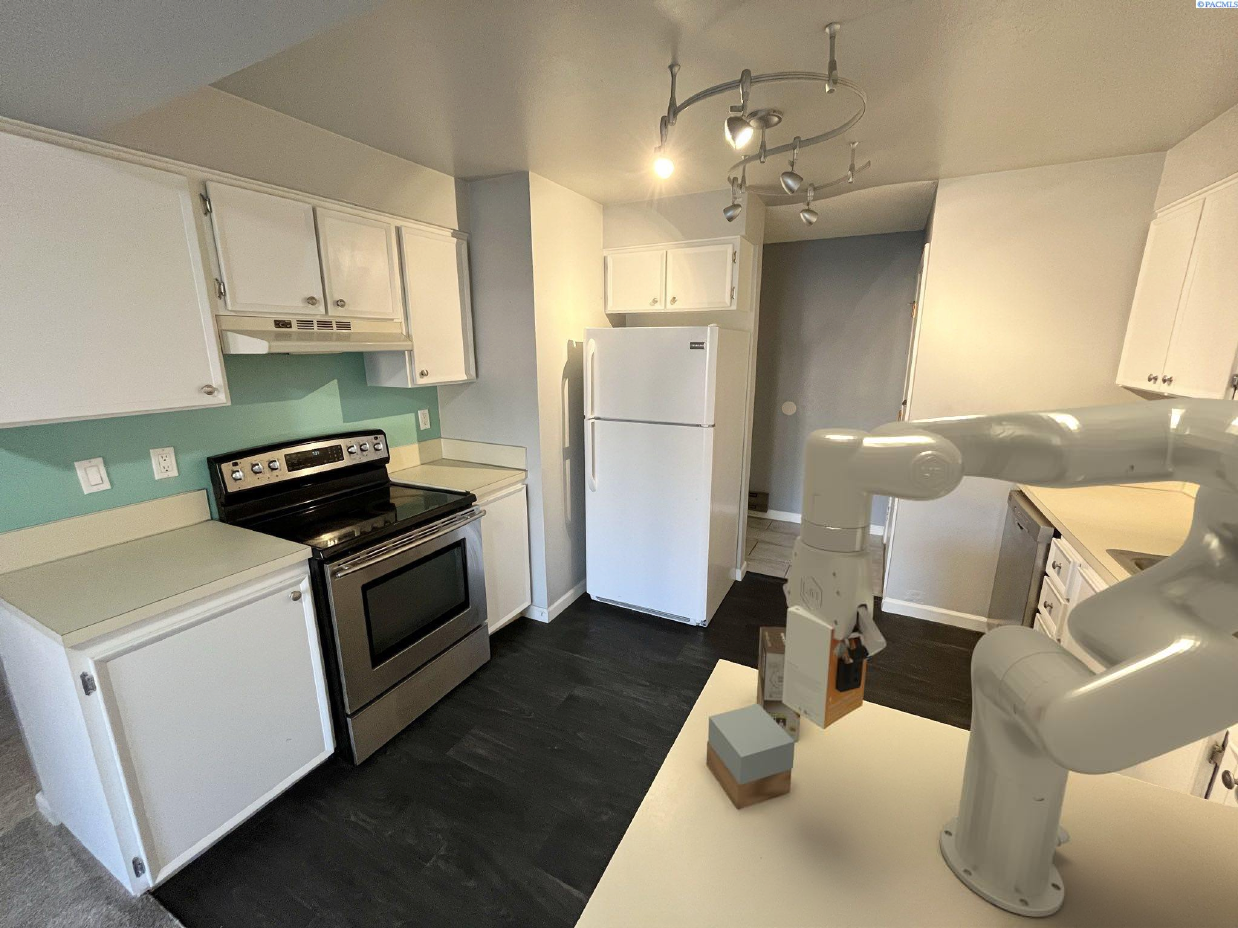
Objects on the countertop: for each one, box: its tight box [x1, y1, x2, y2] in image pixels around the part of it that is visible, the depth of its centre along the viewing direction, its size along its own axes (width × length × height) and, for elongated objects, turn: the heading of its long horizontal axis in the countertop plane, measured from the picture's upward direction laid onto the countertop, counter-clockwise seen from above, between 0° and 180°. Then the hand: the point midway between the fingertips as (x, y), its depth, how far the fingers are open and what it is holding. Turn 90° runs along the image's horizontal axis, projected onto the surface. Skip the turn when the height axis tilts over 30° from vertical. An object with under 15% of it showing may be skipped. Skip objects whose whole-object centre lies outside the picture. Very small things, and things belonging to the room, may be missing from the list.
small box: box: [782, 605, 868, 730], centre depth 64 cm, size 8×6×13 cm
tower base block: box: [705, 740, 793, 811], centre depth 79 cm, size 9×9×4 cm
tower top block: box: [707, 703, 796, 785], centre depth 78 cm, size 9×9×4 cm
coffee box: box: [756, 626, 801, 742], centre depth 90 cm, size 9×6×16 cm
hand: (824, 669), depth 64 cm, fingers closed on small box, 7 cm apart
